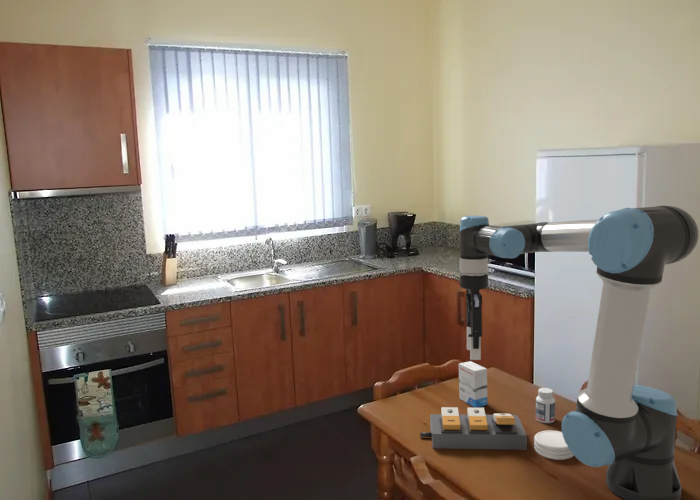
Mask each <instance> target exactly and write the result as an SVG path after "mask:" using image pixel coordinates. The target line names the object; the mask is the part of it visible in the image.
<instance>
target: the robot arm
mask: <svg viewBox="0 0 700 500" xmlns="http://www.w3.org/2000/svg"><path fill="white" fill-rule="evenodd" d="M458 233H459V272H460V274H459V286H460V288H462V289H463V290H465V305H466V309H465V310H466V311H465V322H466V350H467V351H469V355H470V356H469V359H470V360H469V361H481V359H482V355H481V353H482V351H481V349H482V347H481V346H482V343H481V342H482V341H481V340H482V338H483V337H482V336H483V330H482V329H483V324H482V323H483V322H482V321H483V320H482V319H483V318H482V317H483V315H482V313H483V311H482V306H483V295H482V293H480V290H485V289H487V288H488V287H489V275H488V272H489V265H491V260H489V256H493V257H498V258H502V259H516V258H518V257H519V256H520V255H523V254H529V253H530V254H531V253H532V254H533V253H539V252H540V253H553V252H562V253H563V252H564V253H565V252H568V253H569V252H571V253H572V252H574V253H575V252H577V253H578V252H582V253H584V252H586V253H588V254H589V255H591V258H590V259H591V261H592V262H593V264H594V265H595V266H596V272H595V273H596V274H597V276H598V277H599V279H600V280H601V281H602V288H601V296H600V302H599V307H598V314H597V321H596V327H595V334H594V339H593V340H594V341H593V346H592V353H591V358H590V359H591V360H590V366H589V372H588V380H587V385H586V388H584V389H581V390H580V391H579V393H578V394H577V398H576V399H577V400H576V403H575V404H576V406H575V410H571V411H570V412H568V413H567V414H565V415H564V416H563V418H562V420H561V432H562V434H563V438H564V440H565V443H566V444H567V446H568V448H569V450H570V451H571V452H572V454H573V455H574V456H573V457H574V458H576V459H577V460H578V461H579V462H581V463H582V464H583V465H586V466H588V467H590V468H591V467H592V468H600V467H605V466H608V467H607V469H606V473H605V475H606V477H605V483H606V485H607V488H608V489H609V490H610V492H612V493H613V494H614V495H616V496H617V497H618V498H621V499H623V500H682V499H681V498H682V484H681V481H680V478H679V474H678V470H677V467H676V464H675V447H676V446H675V444H676V432H677V431H676V430H677V421H678V419H677V418H678V416H679V414H678V409H677V407H678V404H677V401H676V399H675V397H674V396H673V395H672V394H669V393H668V392H665V391H663V390H660V389H658V388H654V387H650V386H645V385H639V384H635V382H636V378H637V377H636V376H637V373H638V372H637V370H638V366H639V359H640V353H641V350H642V343H643V338H644V331H645V326H646V319H647V316H648V315H647V314H648V310H649V309H648V308H649V305H650V304H649V303H650V298H651V297H650V296H651V293H652V289H654V288H656V287H657V286H659V285H660V284H661V283H662V281H663V276H664V271H665V266H666V265H671V264H675V263H677V262H678V263H679V262H680V261H682V260H683V259H686V258H687V257H688V256H689V255H691V254H692V252H693V251H694V250H695V248H696V247H697V244H698V242H699V227H698V225H697V222H696V220H695V219H694V217H693V216H692V215H691V214H689V213H688V212H687V211H686V210H685V209H682V208H681V207H677V206H672V205H657V206H646V207H645V206H644V207H625V208H621V209H617V210H612V211H610V212H607V213H605V214H603V216H601V217H600V218H598V219H583V220H567V221H566V220H565V221H553V222H550V221H549V222H548V221H542V222H536V223H525V224H514V225H504V226H501V225H500V226H497V225H490V221H489V217H487V216H485V215H465V216H462V217H461V218H460V223H459V231H458Z"/></svg>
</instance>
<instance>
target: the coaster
mask: <svg viewBox="0 0 700 500" xmlns="http://www.w3.org/2000/svg"><path fill="white" fill-rule="evenodd" d="M533 439H534V441H533V449H534V451H535V452H536V453H537V454H538V455H540V456H541V457H543V458H546V459H550V460H554V461H555V460H556V461H563V460H569V459H571V458H573V457H575V456H574V455H573V454H572V452H571V451H570V450H569V448H568V446H567V444H566V443H565V440H564V438H563V434H562V431H559V430H542V431H539V432H537V433H536V434H534V437H533Z"/></svg>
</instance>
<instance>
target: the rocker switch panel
mask: <svg viewBox="0 0 700 500" xmlns="http://www.w3.org/2000/svg"><path fill="white" fill-rule="evenodd" d="M485 415H486V420H487V425H488V427H487V430H470V426H469V420H468V414H460V413H459V420H460V430H443V424H442V414H441V413H437V414H436V413H434V414H433V413H430V414H429V416H430V417H429V419H430V421H429V422H430V423H429V424H430V425H429V426H430V427H429V428H430V432H429V431H428V432H426V431H425V432H421V431H420V432H419V433H420V435H419V436H420V438H431V443H432V444H431V445H432V449H446V450H447V449H448V450H449V449H452V450H453V449H454V450H461V449H462V450H510V451H511V450H518V451H519V450H520V451H522V450H523V451H526V450H527V449H528V448H527V446H528V445H527V443H528V442H527V441H528V439H527V438H528V435H527V433H526V431H525V430H526V429H525V428H524V426H523V424H522V421H521V419H520V418H519V416H518V414H511V415H512V416H513V417H514V418H515V425H511V424H497V423H496V422H495V421H494V416H493V414H485Z"/></svg>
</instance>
